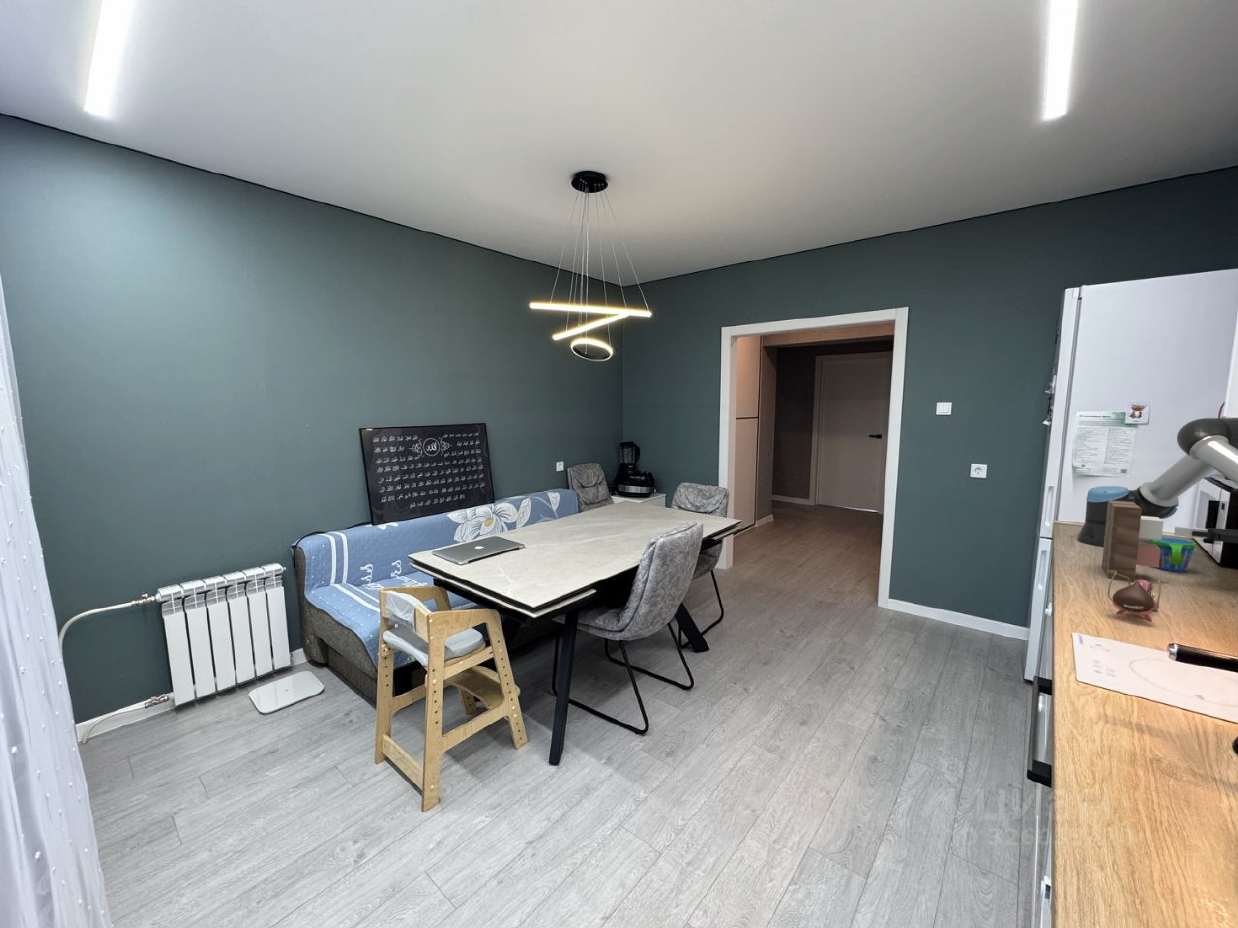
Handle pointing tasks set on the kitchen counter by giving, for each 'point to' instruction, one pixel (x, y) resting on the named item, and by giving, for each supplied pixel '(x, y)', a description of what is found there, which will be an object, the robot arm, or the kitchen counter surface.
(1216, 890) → the kitchen counter surface
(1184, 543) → the snack cup
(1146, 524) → the white key
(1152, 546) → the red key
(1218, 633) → the kitchen counter surface
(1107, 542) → the key panel
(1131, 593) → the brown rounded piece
